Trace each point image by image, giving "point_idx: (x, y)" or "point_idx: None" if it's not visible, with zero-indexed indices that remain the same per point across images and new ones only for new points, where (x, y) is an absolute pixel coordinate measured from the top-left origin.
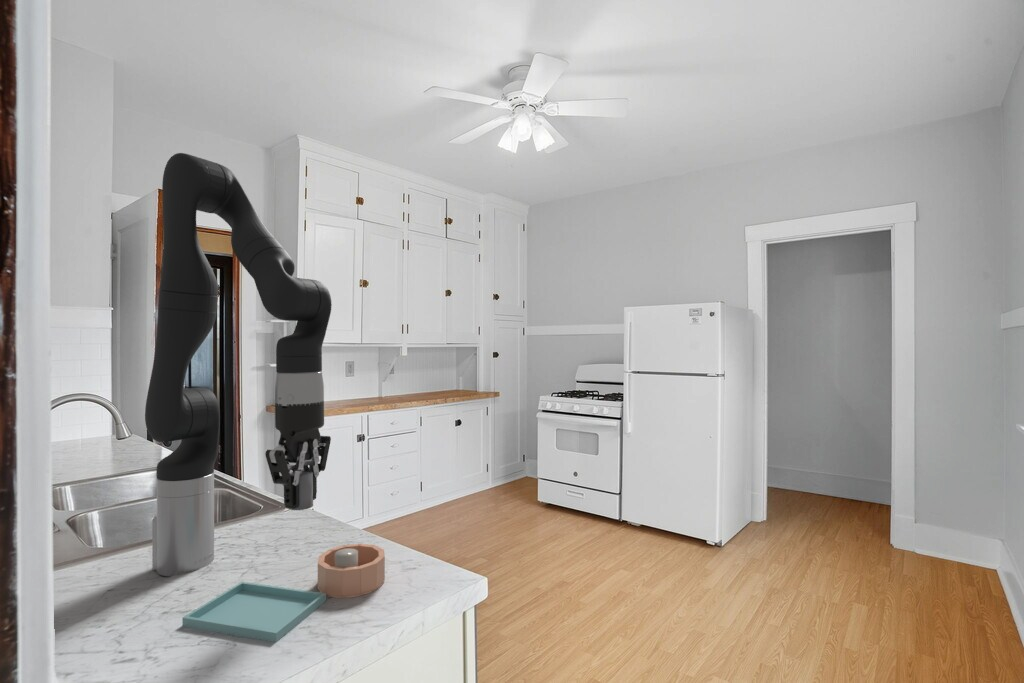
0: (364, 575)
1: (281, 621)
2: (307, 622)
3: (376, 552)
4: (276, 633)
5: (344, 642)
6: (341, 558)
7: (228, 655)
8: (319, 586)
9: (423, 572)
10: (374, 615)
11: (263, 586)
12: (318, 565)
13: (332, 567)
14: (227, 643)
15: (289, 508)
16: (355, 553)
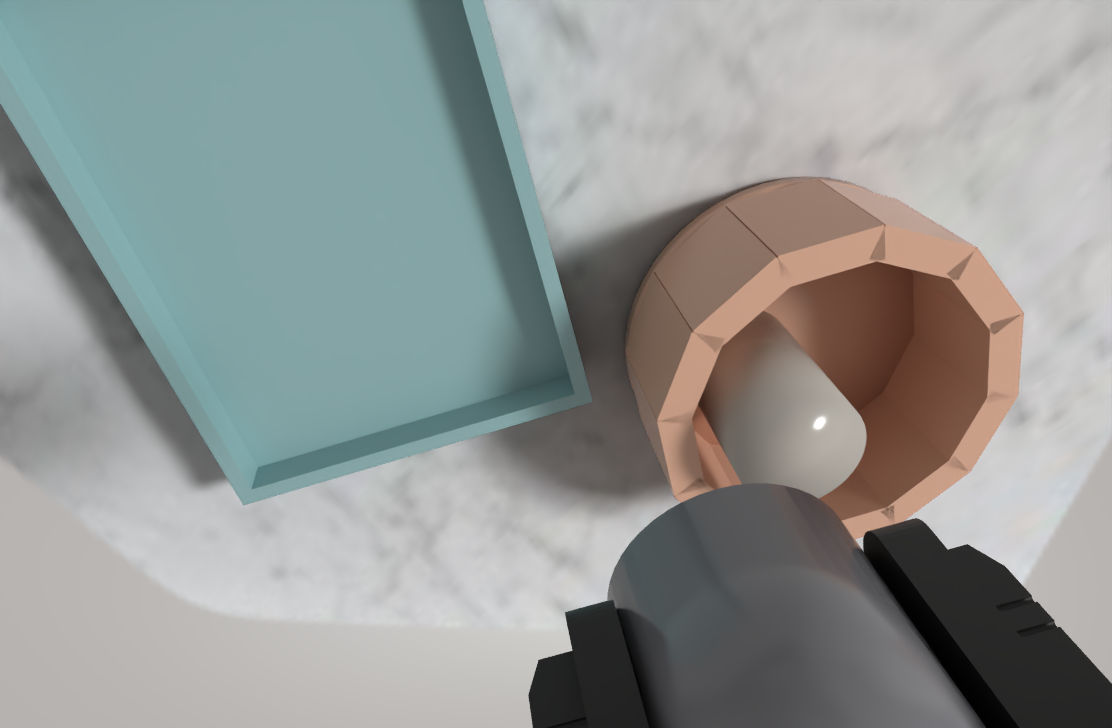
0: None
1: (353, 376)
2: None
3: (949, 437)
4: (244, 503)
5: (427, 606)
6: (737, 474)
7: (84, 382)
8: (650, 295)
9: (989, 471)
10: (613, 560)
11: (477, 52)
12: (685, 335)
13: (681, 438)
14: (117, 300)
15: (617, 574)
16: (813, 492)
